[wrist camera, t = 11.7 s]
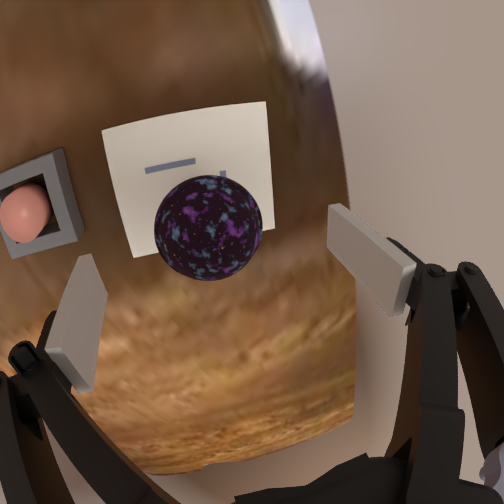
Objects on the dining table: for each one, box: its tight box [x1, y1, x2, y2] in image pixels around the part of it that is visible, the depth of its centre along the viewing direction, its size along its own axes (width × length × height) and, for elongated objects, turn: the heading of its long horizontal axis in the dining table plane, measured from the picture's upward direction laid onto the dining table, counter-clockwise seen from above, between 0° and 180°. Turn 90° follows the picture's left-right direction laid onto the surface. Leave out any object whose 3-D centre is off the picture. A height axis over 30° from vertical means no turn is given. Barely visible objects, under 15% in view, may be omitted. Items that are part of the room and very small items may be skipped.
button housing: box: [0, 148, 85, 259], centre depth 23 cm, size 9×9×3 cm
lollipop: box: [154, 175, 263, 281], centre depth 22 cm, size 7×7×15 cm
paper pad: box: [102, 102, 275, 258], centre depth 29 cm, size 14×16×1 cm
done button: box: [0, 183, 52, 243], centre depth 22 cm, size 5×5×3 cm
